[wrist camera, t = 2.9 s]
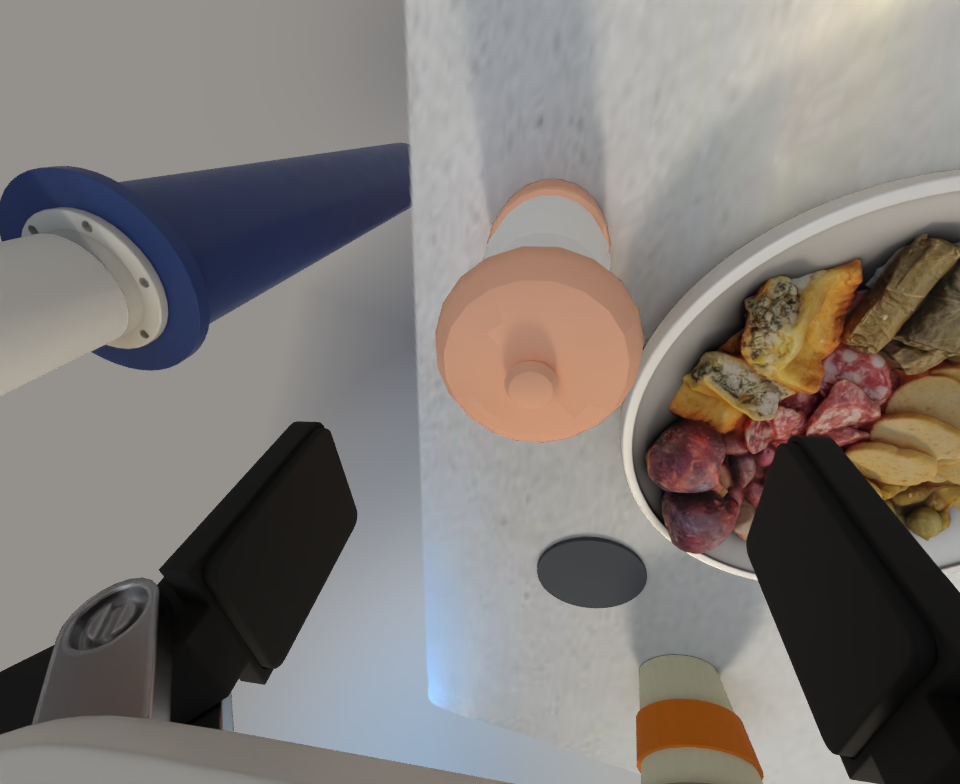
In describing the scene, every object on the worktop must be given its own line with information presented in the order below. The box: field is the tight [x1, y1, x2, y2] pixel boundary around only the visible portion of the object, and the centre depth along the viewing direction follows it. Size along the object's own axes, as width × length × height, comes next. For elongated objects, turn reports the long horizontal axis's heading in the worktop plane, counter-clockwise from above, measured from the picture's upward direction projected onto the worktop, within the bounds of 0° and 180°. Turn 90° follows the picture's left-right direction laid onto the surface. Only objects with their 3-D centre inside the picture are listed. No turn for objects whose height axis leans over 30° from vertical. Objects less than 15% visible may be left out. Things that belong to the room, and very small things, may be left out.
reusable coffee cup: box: [636, 655, 764, 784], centre depth 46 cm, size 13×13×15 cm
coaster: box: [537, 537, 647, 608], centre depth 45 cm, size 11×11×1 cm
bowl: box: [620, 169, 960, 581], centre depth 28 cm, size 30×30×8 cm
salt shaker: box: [436, 180, 644, 443], centre depth 21 cm, size 7×7×19 cm
